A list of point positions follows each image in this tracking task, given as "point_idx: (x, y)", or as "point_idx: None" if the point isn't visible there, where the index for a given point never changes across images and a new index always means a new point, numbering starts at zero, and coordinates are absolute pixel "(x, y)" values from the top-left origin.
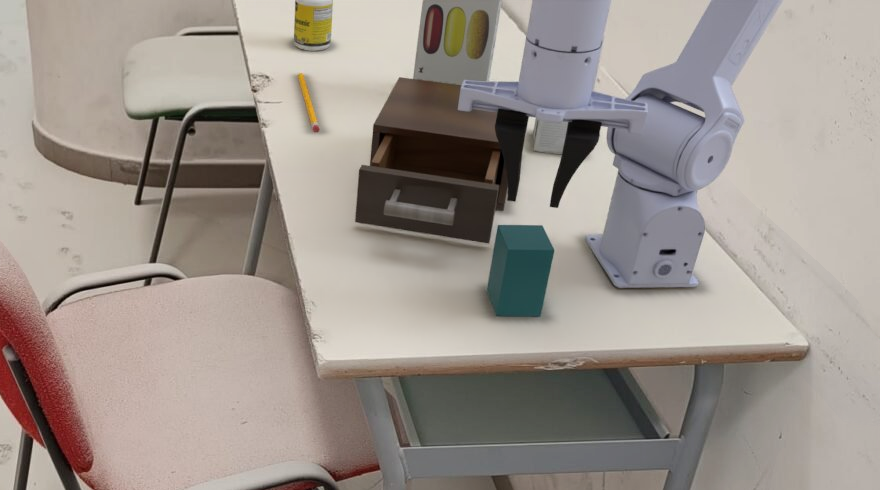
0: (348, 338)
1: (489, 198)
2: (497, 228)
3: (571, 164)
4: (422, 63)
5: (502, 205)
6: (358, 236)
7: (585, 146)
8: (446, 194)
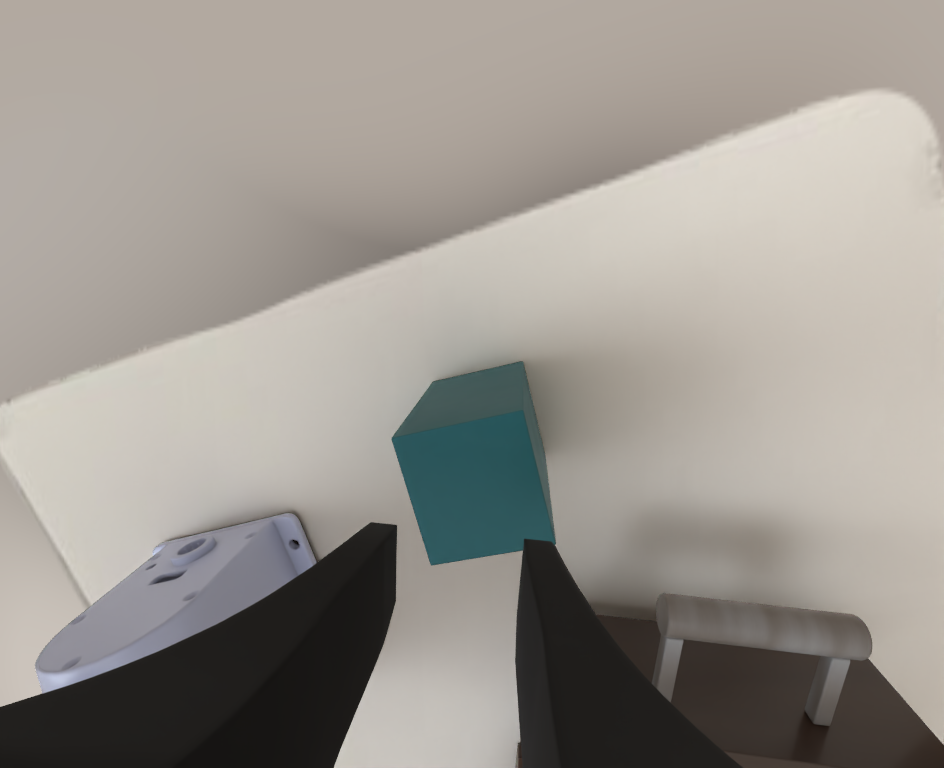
0: (866, 181)
1: None
2: (554, 535)
3: (237, 639)
4: None
5: (521, 754)
6: (832, 607)
7: (19, 732)
8: (686, 713)
